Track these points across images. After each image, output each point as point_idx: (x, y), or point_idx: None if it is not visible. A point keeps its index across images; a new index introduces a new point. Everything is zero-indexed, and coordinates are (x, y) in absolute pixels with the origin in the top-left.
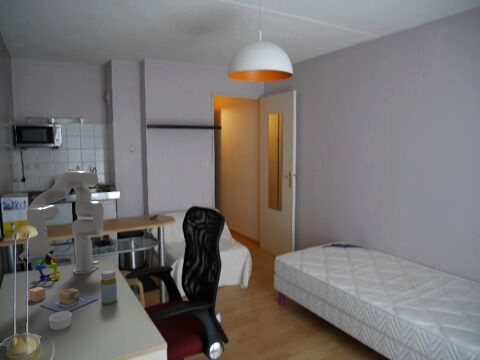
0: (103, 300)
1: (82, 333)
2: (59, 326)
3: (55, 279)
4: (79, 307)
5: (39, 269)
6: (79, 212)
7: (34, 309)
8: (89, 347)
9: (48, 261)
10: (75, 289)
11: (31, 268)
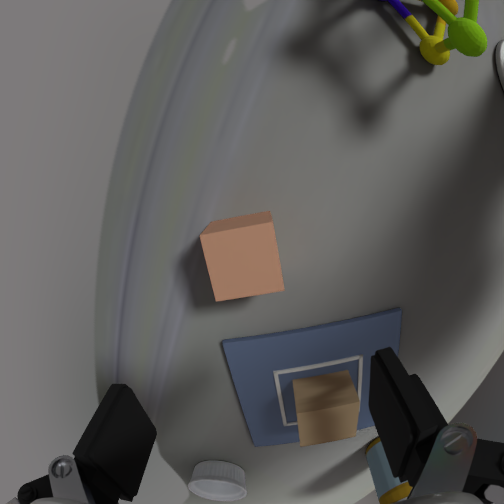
0: (367, 458)
1: (238, 500)
2: (208, 485)
3: (423, 56)
4: None
5: None
6: None
7: (191, 353)
8: None
9: (379, 431)
10: (356, 423)
11: (151, 446)
